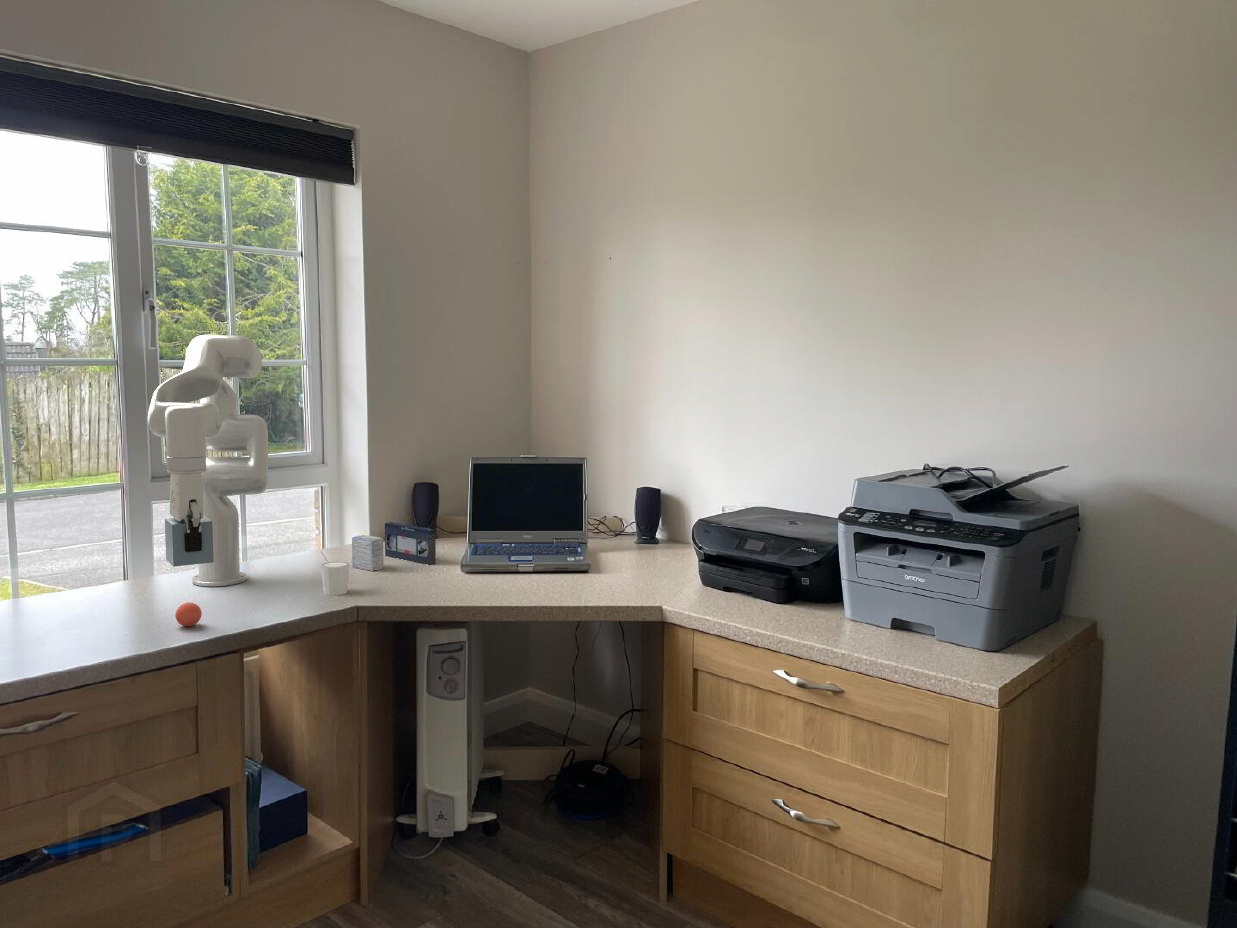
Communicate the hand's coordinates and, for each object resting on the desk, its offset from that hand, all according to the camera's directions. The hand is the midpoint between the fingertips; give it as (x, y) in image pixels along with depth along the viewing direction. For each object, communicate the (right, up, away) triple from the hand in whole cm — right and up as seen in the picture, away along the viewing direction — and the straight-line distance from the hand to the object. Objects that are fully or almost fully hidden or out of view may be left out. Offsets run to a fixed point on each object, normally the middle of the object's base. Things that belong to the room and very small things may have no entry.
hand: (189, 547), depth 190 cm
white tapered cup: (+21, -14, +31) cm, 40 cm away
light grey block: (+22, -11, +57) cm, 62 cm away
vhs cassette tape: (+31, -10, +68) cm, 76 cm away
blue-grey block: (0, -3, 0) cm, 3 cm away
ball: (-1, -14, +1) cm, 14 cm away
